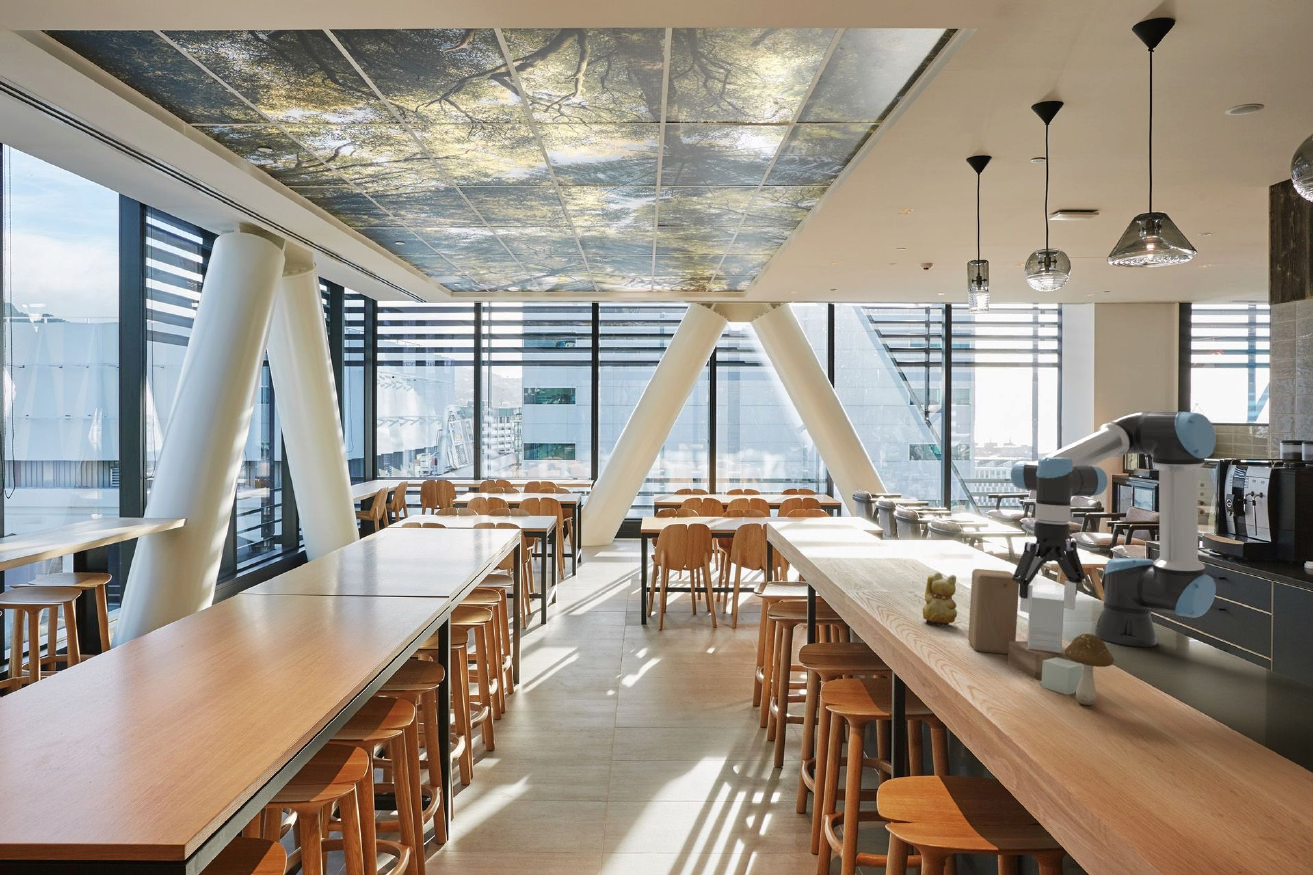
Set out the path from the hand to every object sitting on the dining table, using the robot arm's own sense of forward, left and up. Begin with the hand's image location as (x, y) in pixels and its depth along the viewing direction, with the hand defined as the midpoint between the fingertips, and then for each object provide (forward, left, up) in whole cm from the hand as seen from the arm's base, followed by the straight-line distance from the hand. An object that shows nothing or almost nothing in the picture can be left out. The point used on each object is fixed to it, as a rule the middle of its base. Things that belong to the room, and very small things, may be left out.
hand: (1047, 610), depth 193 cm
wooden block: (-2, -19, -15) cm, 24 cm away
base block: (0, 0, -15) cm, 15 cm away
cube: (+6, +11, -15) cm, 20 cm away
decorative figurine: (-5, -43, -15) cm, 46 cm away
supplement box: (0, 0, -9) cm, 9 cm away
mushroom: (+10, +21, -15) cm, 28 cm away
